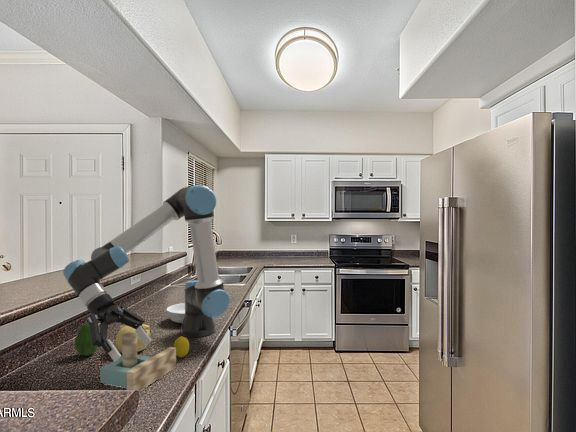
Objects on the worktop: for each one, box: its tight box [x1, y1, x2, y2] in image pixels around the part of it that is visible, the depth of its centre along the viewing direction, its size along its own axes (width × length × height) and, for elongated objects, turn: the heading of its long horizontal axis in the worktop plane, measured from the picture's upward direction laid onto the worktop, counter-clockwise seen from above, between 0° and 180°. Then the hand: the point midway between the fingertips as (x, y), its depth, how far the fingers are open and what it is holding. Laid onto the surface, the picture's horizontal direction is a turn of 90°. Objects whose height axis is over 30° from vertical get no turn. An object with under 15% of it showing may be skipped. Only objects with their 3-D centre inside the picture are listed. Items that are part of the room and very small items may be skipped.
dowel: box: [121, 333, 138, 368], centre depth 114 cm, size 4×4×14 cm
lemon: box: [173, 335, 190, 359], centre depth 130 cm, size 6×6×8 cm
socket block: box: [99, 354, 153, 388], centre depth 114 cm, size 12×12×5 cm
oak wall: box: [126, 346, 177, 393], centre depth 112 cm, size 20×2×7 cm, turn 162°
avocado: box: [74, 322, 99, 357], centre depth 133 cm, size 8×8×12 cm
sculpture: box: [115, 323, 151, 354], centre depth 137 cm, size 12×12×11 cm
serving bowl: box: [166, 302, 185, 324], centre depth 174 cm, size 21×21×7 cm
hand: (134, 350), depth 113 cm, fingers open, 13 cm apart
